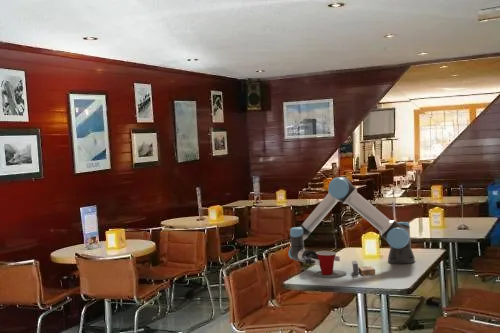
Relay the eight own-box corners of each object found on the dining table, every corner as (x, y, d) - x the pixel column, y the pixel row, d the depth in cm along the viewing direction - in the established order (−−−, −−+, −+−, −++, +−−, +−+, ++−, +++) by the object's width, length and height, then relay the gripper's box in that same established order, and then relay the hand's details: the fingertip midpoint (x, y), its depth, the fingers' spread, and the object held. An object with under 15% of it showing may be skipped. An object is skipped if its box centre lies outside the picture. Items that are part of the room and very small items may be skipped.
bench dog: (357, 271, 306) (356, 260, 306) (358, 274, 298) (357, 263, 298) (353, 271, 306) (352, 261, 306) (353, 275, 298) (353, 263, 298)
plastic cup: (338, 275, 297) (336, 253, 297) (317, 276, 298) (316, 254, 298) (337, 271, 308) (335, 249, 307) (317, 272, 309) (315, 250, 309)
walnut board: (371, 271, 307) (370, 265, 307) (375, 275, 297) (375, 269, 297) (358, 272, 307) (358, 266, 307) (362, 276, 297) (361, 270, 297)
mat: (345, 270, 312) (345, 269, 312) (347, 277, 294) (347, 276, 294) (313, 271, 314) (313, 270, 314) (312, 278, 296) (312, 277, 296)
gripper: (288, 252, 316) (309, 257, 298) (324, 246, 328) (347, 250, 309) (289, 265, 316) (310, 271, 298) (325, 259, 328) (348, 264, 309)
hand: (329, 260), depth 303 cm, fingers open, 13 cm apart
